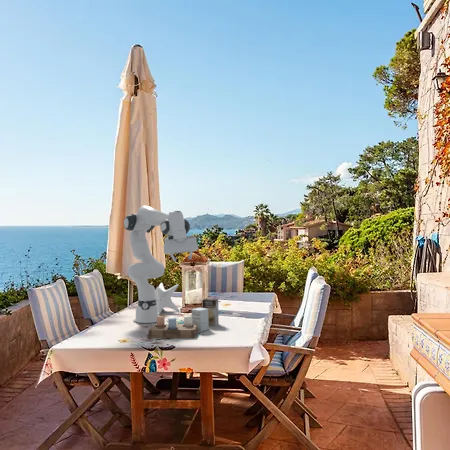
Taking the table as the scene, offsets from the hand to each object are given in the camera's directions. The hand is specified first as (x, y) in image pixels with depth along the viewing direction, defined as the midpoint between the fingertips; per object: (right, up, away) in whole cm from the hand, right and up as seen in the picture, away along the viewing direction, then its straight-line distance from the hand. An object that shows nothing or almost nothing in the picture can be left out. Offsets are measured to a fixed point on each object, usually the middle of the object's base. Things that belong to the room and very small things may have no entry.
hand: (182, 260), depth 292 cm
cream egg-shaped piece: (+4, -38, -4) cm, 39 cm away
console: (-4, -43, -8) cm, 43 cm away
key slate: (-5, -39, -11) cm, 40 cm away
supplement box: (+10, -42, +5) cm, 44 cm away
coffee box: (+16, -42, +20) cm, 49 cm away
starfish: (-22, -43, +72) cm, 87 cm away
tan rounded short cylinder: (-12, -39, -4) cm, 41 cm away
